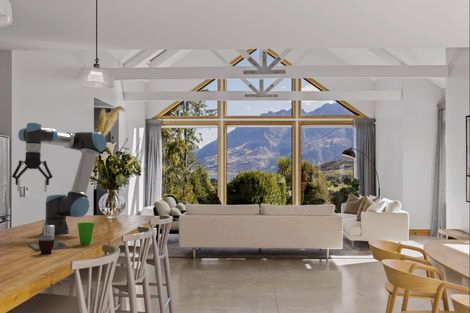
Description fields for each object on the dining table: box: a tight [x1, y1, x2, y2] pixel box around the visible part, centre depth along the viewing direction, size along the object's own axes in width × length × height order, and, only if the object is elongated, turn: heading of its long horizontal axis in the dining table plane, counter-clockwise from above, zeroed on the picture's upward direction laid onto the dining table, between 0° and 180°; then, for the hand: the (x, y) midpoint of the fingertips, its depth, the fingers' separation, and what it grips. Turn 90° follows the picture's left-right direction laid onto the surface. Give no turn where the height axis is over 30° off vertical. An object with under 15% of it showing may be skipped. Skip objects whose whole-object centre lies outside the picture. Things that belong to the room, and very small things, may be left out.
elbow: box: [43, 225, 55, 239], centre depth 268 cm, size 8×5×10 cm, turn 12°
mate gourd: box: [37, 223, 55, 255], centre depth 251 cm, size 8×8×15 cm
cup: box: [76, 221, 95, 245], centre depth 283 cm, size 9×9×11 cm
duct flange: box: [28, 239, 70, 251], centre depth 270 cm, size 16×16×3 cm
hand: (32, 191), depth 289 cm, fingers open, 13 cm apart
